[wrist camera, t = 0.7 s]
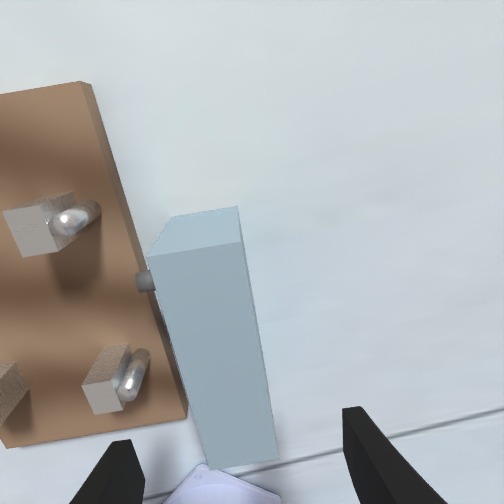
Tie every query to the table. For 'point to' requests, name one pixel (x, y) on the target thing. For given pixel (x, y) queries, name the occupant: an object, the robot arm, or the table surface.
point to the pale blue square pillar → (214, 334)
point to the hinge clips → (53, 240)
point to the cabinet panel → (73, 276)
